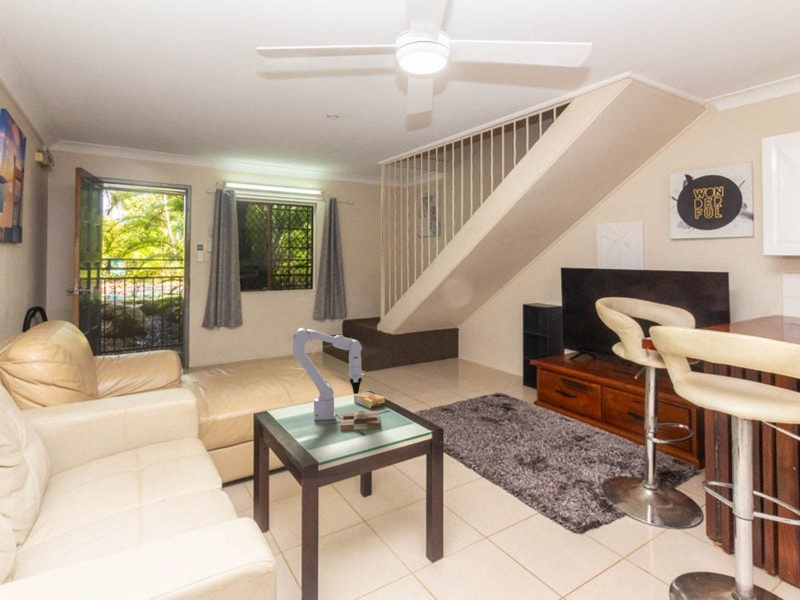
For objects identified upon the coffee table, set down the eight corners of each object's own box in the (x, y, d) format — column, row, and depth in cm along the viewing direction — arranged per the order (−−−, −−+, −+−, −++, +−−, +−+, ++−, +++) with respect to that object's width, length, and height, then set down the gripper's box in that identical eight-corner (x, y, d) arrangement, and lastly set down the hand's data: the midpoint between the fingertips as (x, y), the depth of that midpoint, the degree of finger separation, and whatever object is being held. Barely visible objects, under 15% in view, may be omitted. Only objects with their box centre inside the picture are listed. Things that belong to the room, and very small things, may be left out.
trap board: (341, 417, 198) (341, 408, 198) (378, 415, 200) (377, 406, 200) (340, 430, 183) (340, 420, 182) (380, 428, 184) (379, 418, 184)
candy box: (385, 405, 215) (367, 398, 227) (384, 397, 215) (367, 390, 227) (370, 409, 210) (353, 402, 222) (370, 400, 210) (353, 394, 222)
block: (355, 423, 184) (355, 414, 183) (355, 420, 188) (355, 411, 187) (365, 423, 184) (364, 414, 184) (364, 419, 188) (364, 411, 188)
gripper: (364, 368, 195) (364, 397, 196) (363, 361, 210) (364, 388, 211) (348, 369, 194) (349, 398, 195) (348, 362, 209) (349, 389, 210)
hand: (356, 393), depth 203 cm, fingers closed
